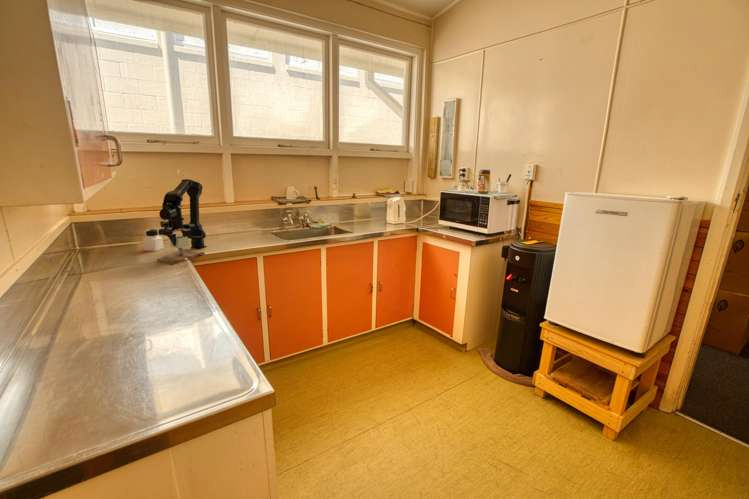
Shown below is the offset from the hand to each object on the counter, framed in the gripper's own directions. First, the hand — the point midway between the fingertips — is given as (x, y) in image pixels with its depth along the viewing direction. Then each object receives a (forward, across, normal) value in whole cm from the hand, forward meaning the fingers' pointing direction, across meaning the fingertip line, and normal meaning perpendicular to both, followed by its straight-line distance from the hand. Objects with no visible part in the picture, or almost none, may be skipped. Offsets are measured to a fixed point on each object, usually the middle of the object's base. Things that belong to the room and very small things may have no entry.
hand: (179, 244), depth 191 cm
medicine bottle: (+8, -5, -29) cm, 30 cm away
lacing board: (+8, 0, 0) cm, 8 cm away
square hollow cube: (+1, 0, 0) cm, 1 cm away
